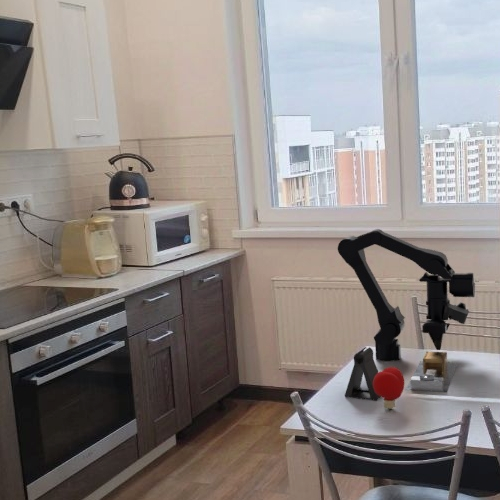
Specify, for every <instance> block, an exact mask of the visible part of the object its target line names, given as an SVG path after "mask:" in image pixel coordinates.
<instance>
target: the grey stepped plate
mask: <svg viewBox="0 0 500 500" xmlns="http://www.w3.org/2000/svg"><path fill="white" fill-rule="evenodd" d="M457 365H458V362H448V361H447V368H446V371H445V373H444V374H442V367H431V366H429V367H428V369H427V371H426V373H423V360H420V361H419V362H418V365H417V367H416V369H415V370H414V373H413V374H412V376H411V378H410V381H409V383H408V384H407V387H406V388H405V391H417V392H418V391H419V392H429V393H430V392H433V393H434V394H433V393H432V395H436V393H448V391H449V388H450V385H451V383H452V380H453V376H454V374H455V371H456V369H457ZM417 394H419V395H420V393H417Z"/></svg>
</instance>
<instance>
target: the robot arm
mask: <svg viewBox="0 0 500 500" xmlns="http://www.w3.org/2000/svg"><path fill="white" fill-rule="evenodd" d="M374 245H376V246H379V247H381V248H383V249H385V250H388V251H389V252H392V253H395V254H396V255H399V256H402V258H403V257H404V258H406V259H408V260H410V261H412V262H414V263H415V265H417V266H418V267H420V268H421V269H423V270H424V271H426V272H424V273H423V275H422V276H420V278H419V279H418V280H419V282H421V283H425V282H426V301H425V306H427V307H426V310H427V312H426V313H427V314H426V321H425V322H423V324H422V327H421V329H422V330H421V332H422V333H423V334H428V336H429V337H430V340H431V342H432V343H433V346H434V348H435V349H436V351H441V349H442V344H443V339H444V335H445V334H446V333H447V331H448V330H449V327H450V325H451V323H449V322H447V321H451V320H452V321H455V322H458V323H459V324H462V325H464V324H466V320H467V318H468V315H469V313H470V311H469V309H467V308H466V303H465V302H464V303H463V302H459V303H458V304H457V305H456V304H452V303H450V299H449V297H448V294H451V296H453V297H454V298H475V294H476V283H475V278H474V273H473V272H466V273H463V272H461V273H460V272H459V273H456V271H455V270H454V269H453V267H452V266H451V265H450V264H449V261H448V260H449V259H448V257H447V254H445V253H444V252H442V251H438V250H435V249H434V250H433V249H429V248H422V247H419V246H417V245H414V244H412V243H409V242H407V241H406V240H402V239H400V238H398V237H396V236H393V235H392V234H389V233H387V232H385V231H383V230H382V229H380V228H375V229H374V230H372V231H370V232H367V233H363V234H360V235H359V236H354V235H349V236H346V237H345V238H342V240H340V242H339V243H338V245H337V253H338V254H339V256H340V257H341V258H342V260H343V261H345V263H346V264H348V266H350V268H352V270H353V271H354V273H355V275H356V277H357V278H358V280H359V282H360V284H361V285H362V287H363V289H364V291H365V293H366V295H367V297H368V299H369V301H370V303H371V304H372V306H373V308H374V310H375V312H376V316H377V321H378V325H379V328H380V329H379V330H378V331H377V333H376V334H375V335H374V336H373V340H374V344H375V360H378V361H382V362H392V361H400V360H401V358H402V357H401V355H402V354H401V344H399V339H398V338H397V337H399V336H400V334H401V333H402V331H403V330H404V328H405V319H406V317H405V316H404V315H403V314H402V311H401V309H400V307H399V305H397V306H396V307H393V306H392V305H391V304H390V302H389V301H388V299H387V297H386V295H385V294H384V292H383V290H382V288H381V286H380V285H379V282H378V280H377V279H376V277H375V275H374V274H373V272H372V270H371V268H370V265H369V264H368V262H367V258H366V253H365V250H364V249H367V248H368V247H372V246H374ZM448 292H449V293H448Z"/></svg>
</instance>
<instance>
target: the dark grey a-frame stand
mask: <svg viewBox="0 0 500 500" xmlns="http://www.w3.org/2000/svg"><path fill="white" fill-rule="evenodd" d="M377 373H379V371H378V367H377V365H376V362H375V360H374V351H373V349H372V348H371V347H368V348H367V346H365V347H364V348H362V349H361V350H359V351H358V352H357V353H355V354H354V356H353V367H352V371H351V373H350V377H349V380H348V384H347V387H346V390H345V393H344V397H345V398H352V399H358V400H360V399H361V400H366V401H375V402H377V401H379V400H380V399H381V398H382V397H381V396H379V395H377V394H376V392H375V391H374V388H373V380H374V377H375V376H376V374H377ZM363 376H364V380H365V383H366V386H367V390H366V389H365V390H364V389H360V388H361V385H362V381H363Z"/></svg>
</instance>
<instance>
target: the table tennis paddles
mask: <svg viewBox="0 0 500 500" xmlns="http://www.w3.org/2000/svg"><path fill="white" fill-rule="evenodd" d="M373 388H374V391H375V392H376V394H377V395H379V396H381V398H382V399H383V407H384V408H385V409H387V410H389V411H391V410H393V409H394V408H395V407H396V400H398V399H399V398H400V397H401V395H402V394H403V392H404V388H405V377H404V374H403V373H402V372H401V370H400V369H398V368H397V367H394V366H393V367H392V366H388V367H385V368H384V369H383V370H381V371H378V373H377V374H376V376H375V377H374V380H373Z"/></svg>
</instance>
